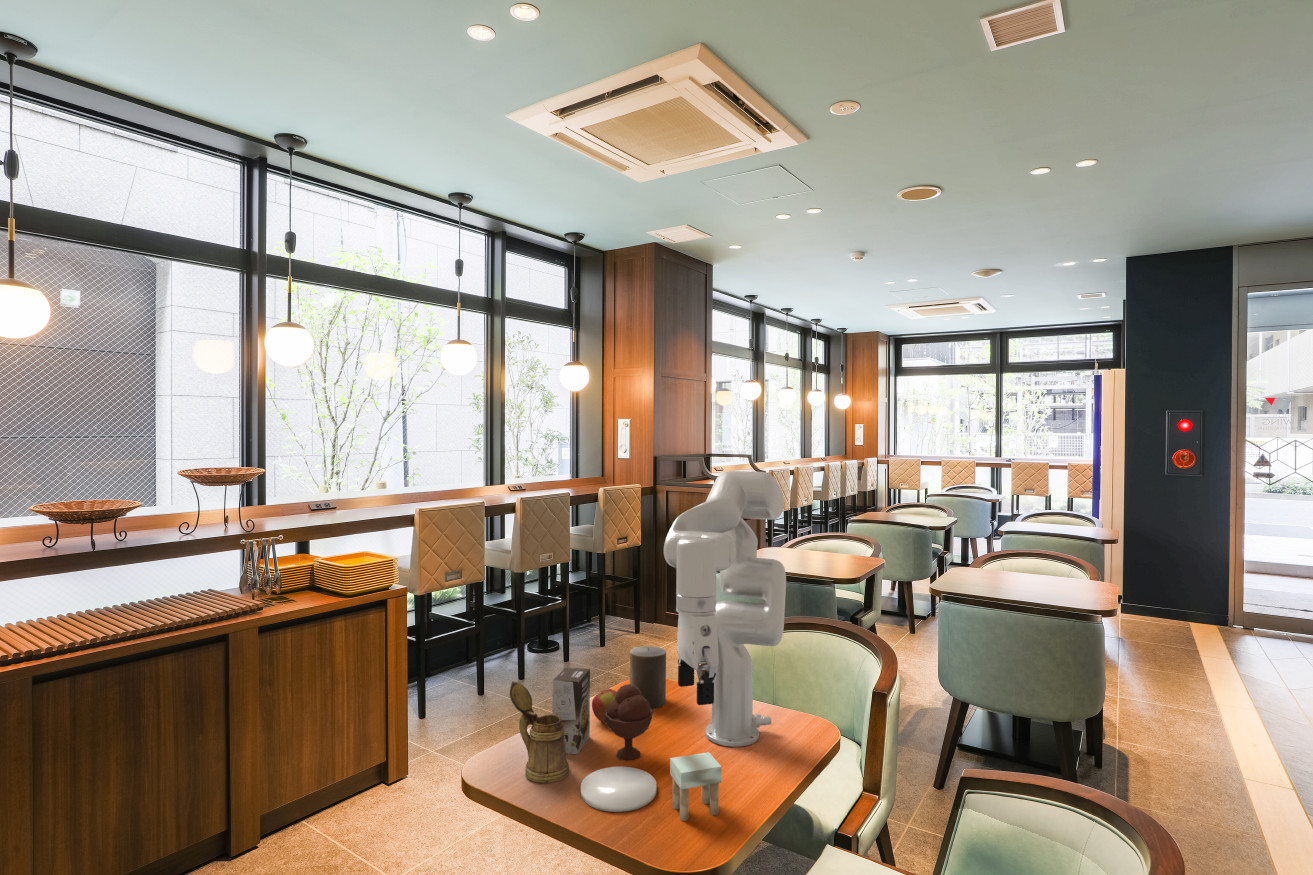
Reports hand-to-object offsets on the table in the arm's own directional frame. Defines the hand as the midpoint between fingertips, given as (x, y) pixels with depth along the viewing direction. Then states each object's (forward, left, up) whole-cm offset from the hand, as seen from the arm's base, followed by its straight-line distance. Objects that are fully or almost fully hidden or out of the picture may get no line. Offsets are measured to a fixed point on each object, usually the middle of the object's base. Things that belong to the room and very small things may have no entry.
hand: (695, 694), depth 126 cm
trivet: (+12, -11, -22) cm, 27 cm away
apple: (+6, -43, -22) cm, 49 cm away
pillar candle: (-7, -52, -22) cm, 57 cm away
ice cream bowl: (+6, -25, -22) cm, 34 cm away
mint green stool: (0, 0, -22) cm, 22 cm away
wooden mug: (+26, -24, -22) cm, 42 cm away
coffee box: (+17, -34, -22) cm, 44 cm away
